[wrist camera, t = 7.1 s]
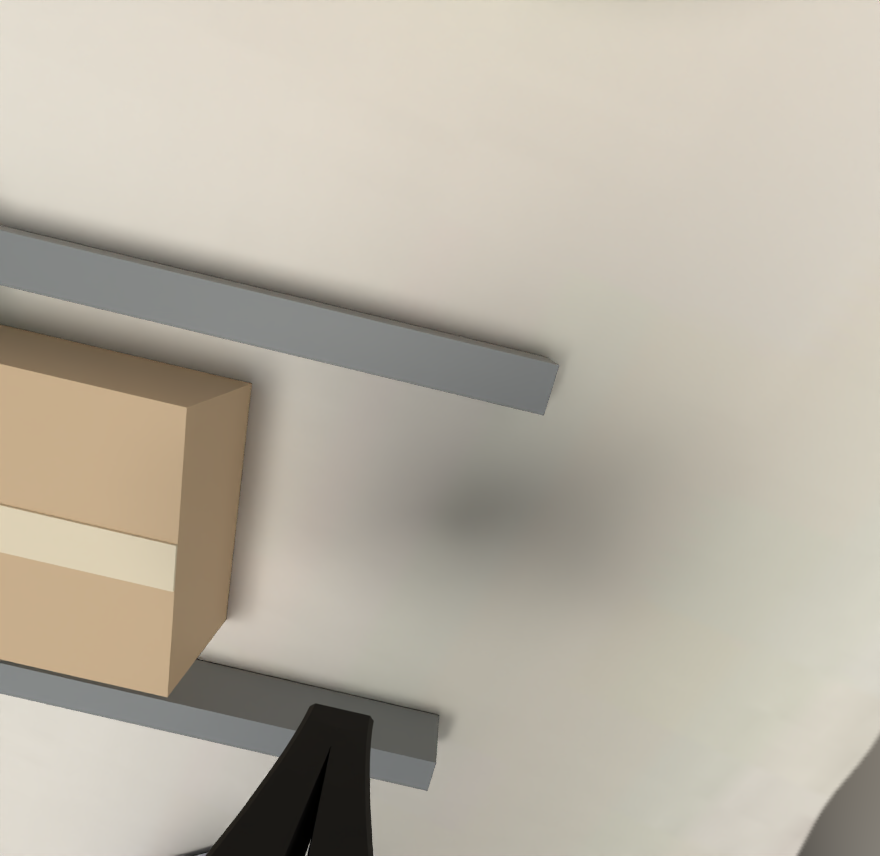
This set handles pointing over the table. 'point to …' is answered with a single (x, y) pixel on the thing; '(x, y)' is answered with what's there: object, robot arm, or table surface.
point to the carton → (114, 509)
